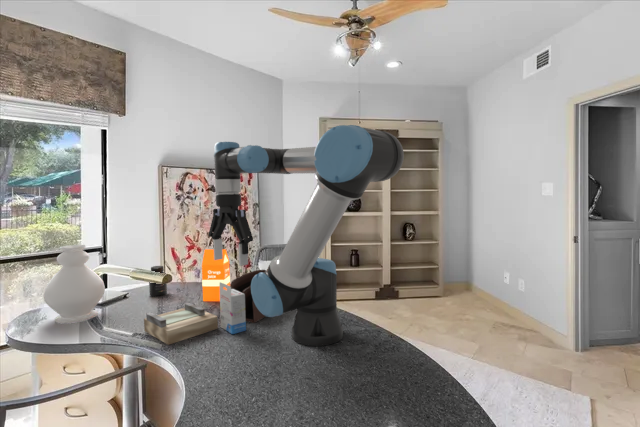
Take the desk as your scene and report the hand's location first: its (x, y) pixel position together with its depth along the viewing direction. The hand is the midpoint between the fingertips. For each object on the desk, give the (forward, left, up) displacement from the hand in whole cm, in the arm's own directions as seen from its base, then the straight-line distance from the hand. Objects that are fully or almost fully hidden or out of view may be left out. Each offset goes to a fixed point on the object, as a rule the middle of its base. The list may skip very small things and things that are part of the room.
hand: (230, 262), depth 115 cm
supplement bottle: (+57, -2, -21) cm, 61 cm away
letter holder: (+6, -16, -22) cm, 27 cm away
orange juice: (+33, -15, -21) cm, 42 cm away
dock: (+12, +11, -21) cm, 27 cm away
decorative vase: (+52, +29, -21) cm, 63 cm away
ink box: (0, 0, -21) cm, 21 cm away
